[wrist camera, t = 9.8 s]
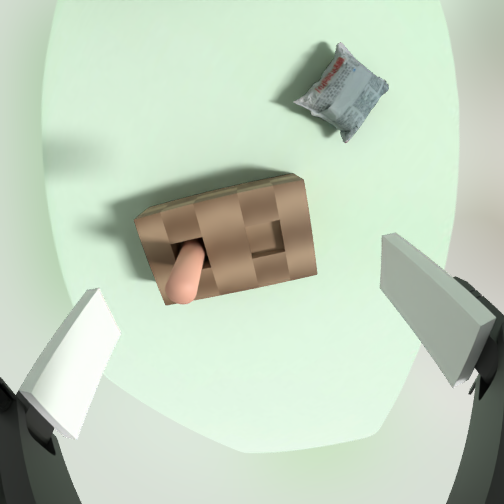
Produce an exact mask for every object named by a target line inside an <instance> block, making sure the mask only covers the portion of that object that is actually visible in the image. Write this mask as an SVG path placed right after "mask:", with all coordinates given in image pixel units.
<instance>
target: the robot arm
mask: <svg viewBox="0 0 504 504" xmlns="http://www.w3.org/2000/svg"><path fill="white" fill-rule="evenodd" d="M380 289H381V290H382V291H383V293H384V294H385V295H386V296H387V298H388V299H389V300H390V302H391V303H392V304H393V305H394V307H395V308H396V309H397V310H398V312H399V313H400V314H401V316H402V317H403V318H404V320H405V321H406V322H407V324H408V325H409V326H410V328H411V329H412V330H413V332H414V333H415V334H416V336H417V337H418V338H419V340H420V341H421V343H422V344H423V345H424V347H425V348H426V349H427V351H428V352H429V354H430V355H431V357H432V358H433V359H434V361H435V362H436V364H437V365H438V367H439V368H440V370H441V371H442V373H443V374H444V376H445V377H446V379H447V380H448V382H449V383H450V385H451V386H452V388H454V387H456V386H458V385H460V384H461V383H463V382H465V381H467V380H468V379H469V378H470V376H471V374H472V372H473V370H474V368H475V369H476V370H477V371H478V373H479V374H478V376H477V378H476V380H475V382H474V383H473V385H472V387H471V389H470V391H469V394H471V393H472V392H473V390H474V388H475V395H474V402H473V408H472V414H471V420H470V425H469V430H468V435H467V440H466V444H465V448H464V452H463V455H462V459H461V462H460V466H459V469H458V473H457V476H456V479H455V482H454V485H453V487H452V490H451V493H450V495H449V498H448V501H447V503H446V504H504V315H503V314H502V313H501V312H500V311H499V310H498V309H497V308H496V307H495V306H494V305H492V304H491V303H490V302H489V301H488V300H487V299H486V298H485V297H484V296H483V297H482V295H481V294H480V293H479V292H478V291H477V290H476V291H475V288H473V287H472V286H471V285H470V284H469V283H468V282H466V281H464V280H462V279H460V278H458V277H451V276H450V275H449V274H448V273H447V272H446V271H444V270H443V269H442V268H441V267H440V266H438V265H437V264H436V263H435V262H433V261H432V260H431V259H430V258H429V257H427V256H426V255H425V254H423V253H422V252H421V251H420V250H418V249H417V248H416V247H414V246H413V245H412V244H410V243H409V242H408V241H406V240H405V239H404V238H402V237H401V236H400V235H398V234H397V233H392V234H387V235H382V253H381V277H380ZM120 335H121V331H120V329H119V327H118V325H117V323H116V322H115V320H114V318H113V316H112V314H111V312H110V310H109V308H108V305H107V303H106V301H105V299H104V297H103V295H102V293H101V291H100V288H95V289H90V290H87V291H86V292H85V294H84V295H83V296H82V297H81V299H80V300H79V301H78V303H77V304H76V305H75V307H74V308H73V309H72V311H71V312H70V313H69V315H68V316H67V317H66V319H65V320H64V321H63V323H62V324H61V326H60V327H59V328H58V330H57V331H56V333H55V334H54V335H53V337H52V338H51V340H50V341H49V343H48V344H47V346H46V348H45V349H44V350H43V352H42V353H41V355H40V356H39V358H38V359H37V361H36V363H35V364H34V366H33V367H32V369H31V371H30V372H29V374H28V375H27V377H26V379H25V380H24V382H23V384H22V385H21V387H20V389H19V391H18V392H17V394H16V395H15V394H14V393H13V392H12V390H11V389H10V388H9V387H8V386H7V384H6V383H5V382H4V381H3V379H1V377H0V504H82V503H81V501H80V499H79V497H78V495H77V492H76V490H75V488H74V485H73V483H72V480H71V478H70V475H69V473H68V470H67V467H66V464H65V461H64V459H63V456H62V453H61V449H60V446H59V443H58V440H57V438H56V436H55V435H54V434H53V430H54V428H55V429H56V430H57V431H58V432H59V433H60V434H61V435H63V437H67V438H71V439H76V440H77V439H78V436H79V433H80V430H81V428H82V425H83V422H84V419H85V417H86V414H87V411H88V409H89V406H90V404H91V401H92V399H93V396H94V393H95V391H96V389H97V386H98V384H99V382H100V379H101V377H102V375H103V372H104V370H105V368H106V365H107V363H108V361H109V359H110V357H111V354H112V352H113V350H114V348H115V346H116V343H117V341H118V339H119V337H120Z"/></svg>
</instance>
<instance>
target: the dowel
mask: <svg viewBox="0 0 504 504" xmlns="http://www.w3.org/2000/svg"><path fill="white" fill-rule="evenodd" d="M205 252H206V248H205V244H204V241H203V237H199V238H195V239H191V240H186V241H184V244H183V246H182V248H181V250H180V253H179V255H178V257H177V260H176V262H175V264H174V267H173V269H172V271H171V274H170V276H169V279H168V281H167V283H166V286H165V291H166V294H167V296H168V297H169V299H170V300H172V301H173V302H175V303H178V304H188V303H190V302H192V301H193V300H194V299H195V297H196V294H197V289H198V285H199V280H200V275H201V270H202V266H203V261H204V256H205Z"/></svg>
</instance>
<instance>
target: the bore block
mask: <svg viewBox="0 0 504 504" xmlns="http://www.w3.org/2000/svg"><path fill="white" fill-rule="evenodd" d="M134 223H135V226H136V229H137V232H138V234H139V237H140V240H141V243H142V246H143V249H144V252H145V254H146V257H147V260H148V262H149V265H150V268H151V270H152V273H153V275H154V278H155V281H156V283H157V286H158V288H159V291H160V293H161V295H162V298H163V300H164V303H165V305H171V304H177V303H175V302H173V301H172V300H170V299H169V297H168V296H167V294H166V291H165V286H166V283H167V281H168V279H169V276H170V274H171V271H172V269H173V267H174V264H175V262H176V260H177V257H178V255H179V253H180V250H181V248H182V246H183V244H184V241H186V240H191V239H195V238H199V237H203V241H204V244H205V248H206V252H205V256H204V261H203V266H202V270H201V275H200V280H199V285H198V289H197V294H196V297H195V299H194V300H198V299H204V298H209V297H214V296H219V295H224V294H229V293H234V292H239V291H244V290H249V289H254V288H259V287H263V286H268V285H273V284H277V283H282V282H286V281H291V280H295V279H300V278H304V277H309V276H313V275H317V267H316V259H315V251H314V243H313V236H312V229H311V222H310V215H309V208H308V202H307V196H306V189H305V183H304V179H302V178H300V177H299V176H297V175H295V174H294V173H293V174H287V175H282V176H277V177H272V178H267V179H262V180H257V181H252V182H248V183H243V184H239V185H234V186H230V187H226V188H221V189H217V190H213V191H209V192H205V193H201V194H197V195H193V196H189V197H185V198H181V199H177V200H174V201H170V202H166V203H163V204H159V205H156V206H152V207H149V208H147V209H146V210H145V211H144V212H142V213H141V214H140V215H139V216H138V217H136V218H135V219H134Z"/></svg>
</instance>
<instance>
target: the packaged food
mask: <svg viewBox="0 0 504 504" xmlns="http://www.w3.org/2000/svg"><path fill="white" fill-rule="evenodd" d="M388 86H389V85H388V84H387V83H386V81H385V80H383V79H382V78H380V77H377V76H376V75H374V74H373V73H372V72H371V71H369V70H368V69H367V68H366V67H365V66H364V65H363V64H361V63H360V62H359V61H357V60H356V59H355V58H354V56H353V55H352V54H351V53H350V52H349V51H348V49H347V48H346V47H345V46H344V44H343V43H341V42H340V43H338V44H337V45H336V51H335V56H334V59H333V60H332V62H331V63H330V64H329V65H328V67H327V68H326V69H325V71H324V72H323V74H322V77H321V79H320V81H319V82H316V83H314V84H313V85H312V87H311V88H310V89H309V90H308V91H307V93H306V94H305V95H303V96H302V97H300V98H299V99H297V100H296V101H294V102H293V103H295V104H298V105H300V106H303V107H304V108H306V109H309V110H311V114H312V115H313V116H316V117H320V118H322V119H323V120H325V121H327V122H329V123H330V124H332V125H334V126H335V127H336V128H337V129H339V130H340V131H341V132H340V134H341V137H342V139H343V142H344V143H347V142H348V141H349V140H350V139H351V138H352V137H353V135H354V134H355V133H356V131H357V130H358V129H359V128H360V126H361V125H362V123H363V122H364V120H365V119H366V117H367V116H368V114H369V113H370V111H371V109H372V108H373V107H374V106H375V105H376V103H377V102H378V100H379V98H380V97H381V96H382V95H383V94H384V93H386V92H387V91H388V89H389V87H388Z"/></svg>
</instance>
